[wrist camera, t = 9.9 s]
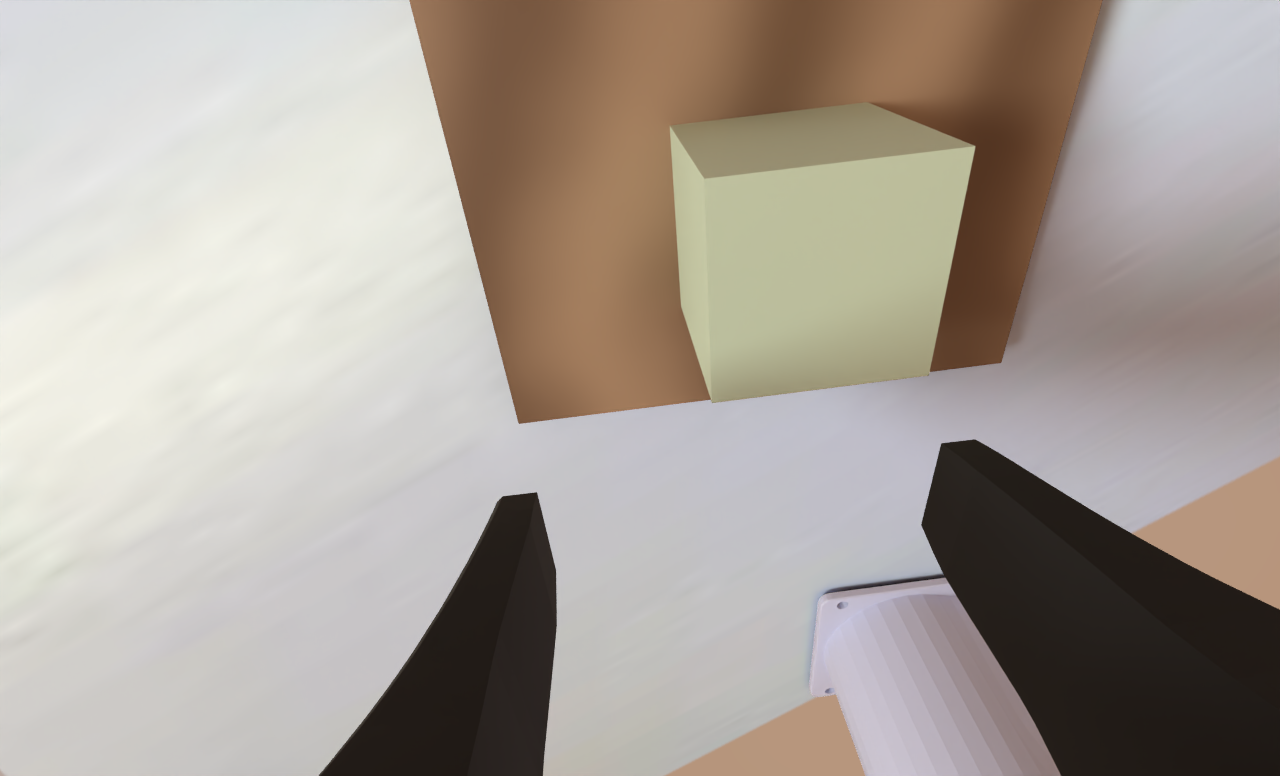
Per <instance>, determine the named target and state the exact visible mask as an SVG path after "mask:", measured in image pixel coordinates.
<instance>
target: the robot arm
mask: <svg viewBox="0 0 1280 776" xmlns="http://www.w3.org/2000/svg"><path fill="white" fill-rule="evenodd" d="M921 525H922V528H923V530H924V532H925V535H926V537H927V539H928V541H929V544H930V546H931V548H932V551H933V553H934V555H935V557H936V559H937V561H938V563H939V565H940V568H941V570H942V572H943V574H944V576H945V578H939V579H931V580H924V581H916V582H908V583H901V584H893V585H886V586H878V587H871V588H863V589H856V590H848V591H841V592H833V593H827V594H825V595H823V596H821V597H820V599H819V601H818V607H817V616H816V625H815V634H814V643H813V652H812V661H811V670H810V679H809V690H810V693H811V695H813V696H815V697H821V696H829V695H837V698H838V701H839V703H840V706H841V709H842V712H843V714H844V717H845V720H846V723H847V726H848V728H849V731H850V734H851V737H852V739H853V742H854V744H855V748H856V750H857V753H858V756H859V759H860V761H861V764H862V767H863V769H864V772H865V775H866V776H1280V610H1279V609H1277V608H1275V607H1273V606H1271V605H1269V604H1266V603H1264V602H1262V601H1260V600H1258V599H1256V598H1254V597H1252V596H1250V595H1248V594H1246V593H1243V592H1242V591H1240V590H1237V589H1236V588H1233V587H1231V586H1229V585H1227V584H1225V583H1223V582H1221V581H1219V580H1217V579H1215V578H1213V577H1211V576H1209V575H1207V574H1205V573H1203V572H1201V571H1199V570H1197V569H1195V568H1194V567H1192V566H1190V565H1188V564H1186V563H1184V562H1182V561H1180V560H1178V559H1177V558H1175V557H1173V556H1171V555H1169V554H1168V553H1166V552H1164V551H1162V550H1160V549H1158V548H1157V547H1155V546H1153V545H1151V544H1149V543H1148V542H1146V541H1144V540H1142V539H1140V538H1138V537H1137V536H1135V535H1133V534H1131V533H1130V532H1128V531H1126V530H1125V529H1123V528H1121V527H1119V526H1118V525H1116V524H1114V523H1112V522H1111V521H1109V520H1107V519H1106V518H1104V517H1102V516H1101V515H1099V514H1097V513H1095V512H1094V511H1092V510H1091V509H1089V508H1087V507H1086V506H1084V505H1082V504H1081V503H1079V502H1077V501H1076V500H1074V499H1072V498H1071V497H1069V496H1067V495H1066V494H1064V493H1063V492H1061V491H1059V490H1058V489H1056V488H1054V487H1053V486H1051V485H1050V484H1048V483H1046V482H1045V481H1043V480H1042V479H1040V478H1038V477H1037V476H1035V475H1034V474H1032V473H1030V472H1029V471H1027V470H1025V469H1024V468H1022V467H1021V466H1019V465H1017V464H1016V463H1014V462H1013V461H1011V460H1009V459H1008V458H1006V457H1004V456H1003V455H1001V454H999V453H998V452H996V451H994V450H993V449H991V448H989V447H988V446H986V445H984V444H982V443H981V442H979V441H977V440H967V441H958V442H950V443H942V444H941V447H940V451H939V455H938V459H937V463H936V467H935V471H934V475H933V480H932V484H931V488H930V492H929V496H928V500H927V504H926V508H925V512H924V516H923V520H922V524H921ZM556 627H557V610H556V569H555V564H554V560H553V556H552V552H551V548H550V544H549V540H548V536H547V532H546V528H545V523H544V519H543V515H542V511H541V507H540V503H539V499H538V495H537V492H536V493H528V494H520V495H511V496H503V497H502V498H501V499H500V500H499V501H498V502H497V504H496V506H495V508H494V510H493V513H492V515H491V517H490V519H489V521H488V523H487V525H486V527H485V529H484V531H483V533H482V535H481V537H480V539H479V541H478V543H477V545H476V547H475V549H474V551H473V552H472V554H471V556H470V558H469V560H468V562H467V564H466V566H465V567H464V569H463V571H462V573H461V574H460V576H459V578H458V580H457V581H456V583H455V585H454V587H453V588H452V590H451V592H450V594H449V595H448V597H447V599H446V601H445V602H444V604H443V606H442V607H441V609H440V611H439V612H438V614H437V615H436V617H435V618H434V620H433V621H432V623H431V625H430V626H429V628H428V629H427V631H426V632H425V634H424V636H423V637H422V639H421V640H420V642H419V643H418V645H417V647H416V648H415V650H414V651H413V653H412V654H411V656H410V657H409V659H408V660H407V662H406V663H405V664H404V666H403V667H402V669H401V670H400V672H399V673H398V675H397V676H396V677H395V679H394V680H393V682H392V683H391V684H390V686H389V687H388V689H387V690H386V691H385V693H384V694H383V695H382V697H381V698H380V699H379V701H378V702H377V703H376V705H375V706H374V707H373V709H372V710H371V711H370V713H369V714H368V715H367V717H366V718H365V719H364V720H363V722H362V723H361V724H360V725H359V727H358V728H357V729H356V730H355V732H354V733H353V734H352V735H351V737H350V738H349V739H348V740H347V742H346V743H345V744H344V745H343V747H342V748H341V749H340V750H339V752H338V753H337V754H336V755H335V757H334V758H333V759H332V760H331V762H330V763H329V764H328V765H327V766H326V767H325V769H324V770H323V771H322V772H321V773H320V775H319V776H543V764H544V751H545V741H546V731H547V721H548V710H549V700H550V690H551V680H552V670H553V659H554V649H555V638H556Z"/></svg>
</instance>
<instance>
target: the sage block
mask: <svg viewBox="0 0 1280 776" xmlns="http://www.w3.org/2000/svg"><path fill="white" fill-rule="evenodd" d="M670 138H671V154H672V170H673V186H674V202H675V218H676V234H677V250H678V266H679V282H680V297H681V308H682V311H683V314H684V317H685V320H686V323H687V326H688V329H689V333H690V336H691V339H692V342H693V345H694V348H695V351H696V354H697V358H698V361H699V364H700V367H701V370H702V373H703V376H704V379H705V383H706V386H707V389H708V392H709V395H710V398H711V401H712V403H716V402H723V401H731V400H739V399H747V398H755V397H763V396H771V395H779V394H787V393H794V392H802V391H810V390H818V389H826V388H834V387H842V386H850V385H857V384H865V383H873V382H881V381H889V380H897V379H905V378H913V377H920V376H928V375H929V372H930V367H931V362H932V357H933V352H934V348H935V343H936V338H937V333H938V328H939V323H940V318H941V313H942V308H943V303H944V298H945V294H946V289H947V284H948V279H949V274H950V269H951V264H952V259H953V254H954V249H955V245H956V240H957V235H958V230H959V225H960V220H961V215H962V210H963V205H964V200H965V195H966V191H967V186H968V181H969V176H970V171H971V166H972V161H973V156H974V151H975V146H974V145H971V144H969V143H966V142H964V141H962V140H959V139H957V138H954V137H952V136H949V135H947V134H944V133H942V132H939V131H937V130H935V129H932V128H930V127H927V126H925V125H922V124H920V123H917V122H915V121H912V120H910V119H907V118H905V117H903V116H900V115H898V114H895V113H893V112H890V111H888V110H885V109H883V108H880V107H878V106H876V105H873V104H871V103H868V102H864V103H856V104H848V105H839V106H831V107H822V108H814V109H805V110H797V111H789V112H780V113H772V114H763V115H755V116H746V117H738V118H730V119H721V120H713V121H704V122H696V123H687V124H679V125H671V126H670Z"/></svg>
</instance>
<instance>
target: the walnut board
mask: <svg viewBox="0 0 1280 776" xmlns="http://www.w3.org/2000/svg"><path fill="white" fill-rule="evenodd" d="M410 4H411V8H412V12H413V16H414V20H415V24H416V28H417V31H418V35H419V39H420V43H421V47H422V51H423V55H424V59H425V62H426V66H427V70H428V74H429V78H430V82H431V86H432V89H433V93H434V97H435V101H436V105H437V109H438V113H439V117H440V120H441V124H442V128H443V132H444V136H445V140H446V144H447V148H448V151H449V155H450V159H451V163H452V167H453V171H454V175H455V179H456V182H457V186H458V190H459V194H460V198H461V202H462V206H463V209H464V213H465V217H466V221H467V225H468V229H469V233H470V237H471V240H472V244H473V248H474V252H475V256H476V260H477V264H478V268H479V271H480V275H481V279H482V283H483V287H484V291H485V295H486V299H487V302H488V306H489V310H490V314H491V318H492V322H493V326H494V330H495V333H496V337H497V341H498V345H499V349H500V353H501V357H502V360H503V364H504V368H505V372H506V376H507V380H508V384H509V388H510V391H511V395H512V399H513V403H514V407H515V411H516V415H517V419H518V422H519V424H521V423H529V422H537V421H545V420H552V419H560V418H568V417H576V416H584V415H592V414H600V413H608V412H616V411H624V410H632V409H639V408H647V407H655V406H663V405H671V404H679V403H687V402H695V401H703V400H711V398H710V395H709V392H708V389H707V386H706V383H705V379H704V376H703V373H702V370H701V367H700V364H699V361H698V358H697V354H696V351H695V348H694V345H693V342H692V339H691V336H690V333H689V329H688V326H687V323H686V320H685V317H684V314H683V311H682V308H681V297H680V282H679V266H678V250H677V234H676V218H675V202H674V186H673V170H672V154H671V138H670V126H671V125H679V124H687V123H696V122H704V121H713V120H721V119H730V118H738V117H746V116H755V115H763V114H772V113H780V112H789V111H797V110H805V109H814V108H822V107H831V106H839V105H848V104H856V103H864V102H868V103H871V104H873V105H876V106H878V107H880V108H883V109H885V110H888V111H890V112H893V113H895V114H898V115H900V116H903V117H905V118H907V119H910V120H912V121H915V122H917V123H920V124H922V125H925V126H927V127H930V128H932V129H935V130H937V131H939V132H942V133H944V134H947V135H949V136H952V137H954V138H957V139H959V140H962V141H964V142H966V143H969V144H971V145H974V146H975V151H974V156H973V161H972V166H971V171H970V176H969V181H968V186H967V191H966V195H965V200H964V205H963V210H962V215H961V220H960V225H959V230H958V235H957V240H956V245H955V249H954V254H953V259H952V264H951V269H950V274H949V279H948V284H947V289H946V294H945V298H944V303H943V308H942V313H941V318H940V323H939V328H938V333H937V338H936V343H935V348H934V352H933V357H932V362H931V367H930V372H932V371H940V370H948V369H956V368H964V367H972V366H980V365H987V364H995V363H1001V362H1002V358H1003V354H1004V351H1005V347H1006V344H1007V340H1008V337H1009V333H1010V329H1011V326H1012V322H1013V319H1014V315H1015V312H1016V308H1017V304H1018V301H1019V297H1020V294H1021V290H1022V287H1023V283H1024V279H1025V276H1026V272H1027V269H1028V265H1029V261H1030V258H1031V254H1032V251H1033V247H1034V244H1035V240H1036V236H1037V233H1038V229H1039V226H1040V222H1041V219H1042V215H1043V211H1044V208H1045V204H1046V201H1047V197H1048V194H1049V190H1050V186H1051V183H1052V179H1053V176H1054V172H1055V168H1056V165H1057V161H1058V158H1059V154H1060V151H1061V147H1062V143H1063V140H1064V136H1065V133H1066V129H1067V126H1068V122H1069V118H1070V115H1071V111H1072V108H1073V104H1074V101H1075V97H1076V93H1077V90H1078V86H1079V83H1080V79H1081V76H1082V72H1083V68H1084V65H1085V61H1086V58H1087V54H1088V50H1089V47H1090V43H1091V40H1092V36H1093V33H1094V29H1095V25H1096V22H1097V18H1098V15H1099V11H1100V8H1101V4H1102V0H410Z"/></svg>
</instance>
